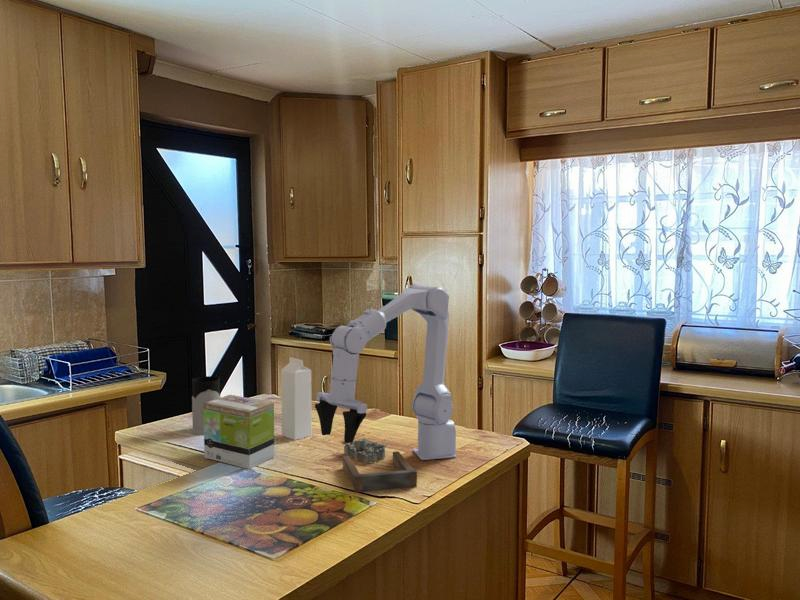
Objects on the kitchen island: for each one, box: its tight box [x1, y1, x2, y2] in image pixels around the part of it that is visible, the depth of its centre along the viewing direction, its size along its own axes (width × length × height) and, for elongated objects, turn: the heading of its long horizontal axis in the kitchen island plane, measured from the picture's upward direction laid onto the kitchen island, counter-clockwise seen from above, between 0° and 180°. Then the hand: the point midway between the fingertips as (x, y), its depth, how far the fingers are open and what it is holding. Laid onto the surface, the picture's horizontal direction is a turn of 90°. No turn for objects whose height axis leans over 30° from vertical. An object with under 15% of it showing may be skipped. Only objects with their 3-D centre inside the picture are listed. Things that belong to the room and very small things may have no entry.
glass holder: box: [190, 375, 222, 436], centre depth 185 cm, size 9×14×15 cm, turn 28°
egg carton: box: [341, 438, 388, 464], centre depth 163 cm, size 11×8×4 cm
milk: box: [280, 357, 313, 441], centre depth 178 cm, size 6×6×22 cm
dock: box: [342, 451, 418, 493], centre depth 149 cm, size 14×16×4 cm
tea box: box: [203, 394, 275, 470], centre depth 160 cm, size 15×10×15 cm
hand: (337, 438), depth 145 cm, fingers open, 7 cm apart
